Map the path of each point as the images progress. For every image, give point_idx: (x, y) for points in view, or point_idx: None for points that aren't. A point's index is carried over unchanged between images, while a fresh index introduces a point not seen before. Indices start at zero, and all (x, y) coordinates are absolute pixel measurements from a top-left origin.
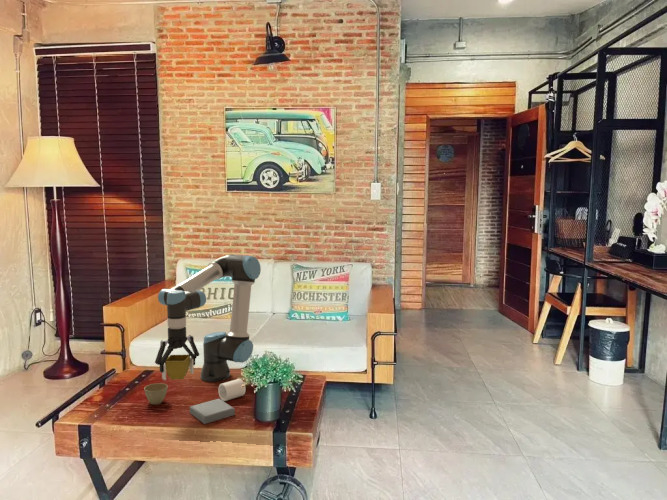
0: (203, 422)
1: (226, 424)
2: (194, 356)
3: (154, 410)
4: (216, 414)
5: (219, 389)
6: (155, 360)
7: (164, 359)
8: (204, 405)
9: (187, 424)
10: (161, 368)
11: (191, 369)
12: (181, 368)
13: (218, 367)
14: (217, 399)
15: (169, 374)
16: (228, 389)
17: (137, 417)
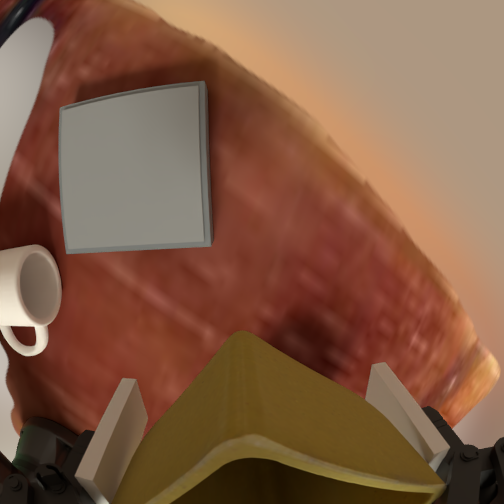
0: (207, 96)
1: (138, 47)
2: (53, 491)
3: (325, 346)
4: (141, 89)
5: (45, 317)
6: (495, 487)
7: (472, 495)
8: (146, 209)
9: (269, 130)
10: (446, 430)
11: (128, 408)
12: (279, 375)
13: (37, 454)
14: (75, 242)
15: (356, 395)
16: (13, 257)
17: (394, 318)
